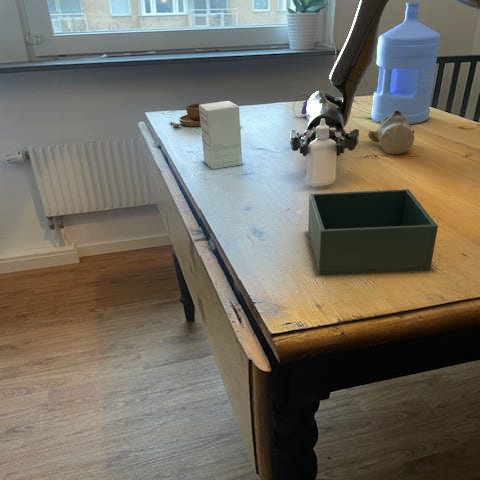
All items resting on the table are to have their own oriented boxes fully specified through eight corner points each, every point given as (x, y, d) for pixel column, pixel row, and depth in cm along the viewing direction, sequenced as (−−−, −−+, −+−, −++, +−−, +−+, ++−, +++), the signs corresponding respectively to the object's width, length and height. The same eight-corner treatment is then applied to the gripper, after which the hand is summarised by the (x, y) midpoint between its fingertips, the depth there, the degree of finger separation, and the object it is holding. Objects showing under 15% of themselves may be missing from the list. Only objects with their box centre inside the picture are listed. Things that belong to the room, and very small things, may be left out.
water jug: (398, 110, 151) (411, 1, 135) (440, 119, 139) (459, 0, 124) (359, 119, 145) (368, 5, 129) (399, 128, 133) (414, 4, 118)
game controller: (291, 102, 151) (324, 93, 150) (297, 130, 153) (329, 121, 152) (291, 97, 142) (326, 87, 140) (297, 127, 144) (332, 118, 142)
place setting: (221, 115, 158) (219, 95, 155) (243, 128, 143) (242, 106, 139) (167, 122, 154) (164, 102, 150) (184, 136, 138) (181, 114, 135)
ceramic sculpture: (376, 116, 108) (368, 106, 121) (372, 157, 112) (365, 143, 125) (427, 115, 107) (414, 105, 120) (421, 156, 111) (409, 143, 124)
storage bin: (402, 229, 80) (408, 189, 77) (430, 270, 69) (438, 226, 65) (308, 233, 81) (309, 193, 77) (318, 275, 69) (320, 231, 66)
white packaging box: (233, 157, 119) (229, 100, 112) (242, 165, 113) (239, 105, 106) (203, 161, 118) (197, 103, 111) (211, 170, 112) (206, 109, 105)
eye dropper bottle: (335, 186, 96) (338, 121, 90) (306, 187, 97) (306, 122, 90) (335, 179, 100) (338, 115, 93) (307, 179, 101) (308, 116, 94)
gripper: (291, 110, 105) (282, 130, 92) (361, 108, 103) (363, 128, 89) (291, 146, 110) (283, 170, 96) (358, 145, 107) (359, 170, 93)
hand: (321, 150), depth 93 cm, fingers closed on eye dropper bottle, 5 cm apart
